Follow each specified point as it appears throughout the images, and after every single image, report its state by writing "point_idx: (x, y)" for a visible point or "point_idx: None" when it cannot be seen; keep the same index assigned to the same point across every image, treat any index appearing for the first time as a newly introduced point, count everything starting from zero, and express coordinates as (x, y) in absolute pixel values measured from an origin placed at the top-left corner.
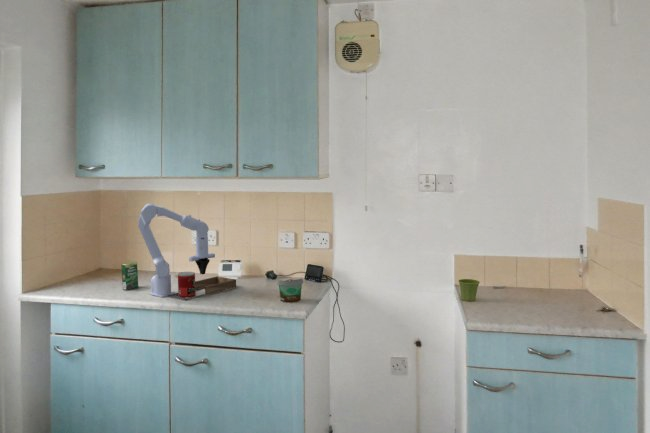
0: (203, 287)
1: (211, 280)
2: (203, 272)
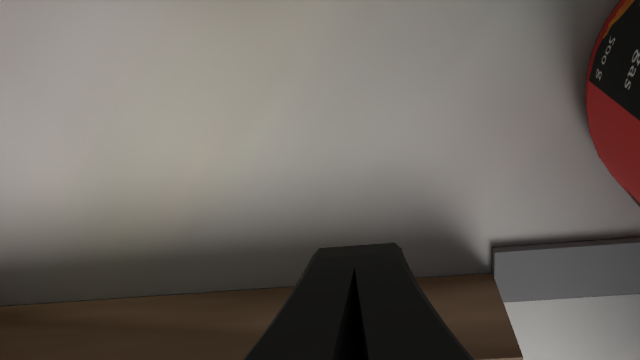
0: (220, 293)
1: (37, 355)
2: (393, 262)
